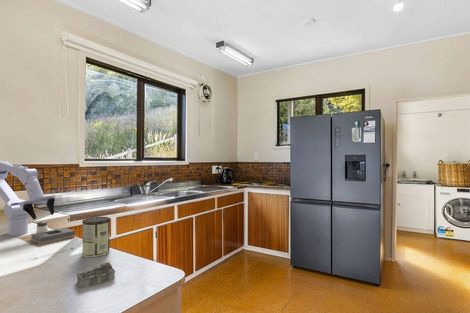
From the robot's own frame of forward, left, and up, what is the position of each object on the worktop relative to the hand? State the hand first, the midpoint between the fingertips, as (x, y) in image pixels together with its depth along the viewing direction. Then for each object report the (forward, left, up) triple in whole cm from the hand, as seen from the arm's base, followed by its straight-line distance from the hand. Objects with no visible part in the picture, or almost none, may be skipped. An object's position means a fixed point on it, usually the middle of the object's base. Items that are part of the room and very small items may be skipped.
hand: (44, 216), depth 128 cm
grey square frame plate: (+6, +2, -10) cm, 12 cm away
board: (+2, +1, -11) cm, 11 cm away
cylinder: (-4, +1, -10) cm, 11 cm away
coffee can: (+38, +4, -11) cm, 40 cm away
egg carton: (+62, -9, -12) cm, 64 cm away
